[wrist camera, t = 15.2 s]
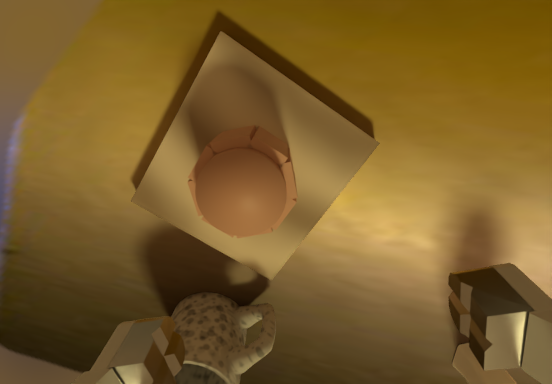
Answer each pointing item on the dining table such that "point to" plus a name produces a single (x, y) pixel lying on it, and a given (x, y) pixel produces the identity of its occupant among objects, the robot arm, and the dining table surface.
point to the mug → (220, 337)
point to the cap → (244, 182)
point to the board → (260, 112)
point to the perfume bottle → (478, 369)
